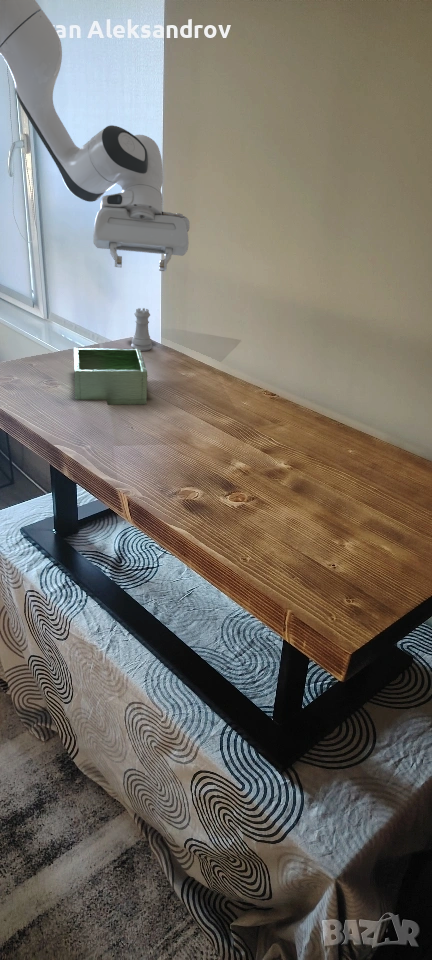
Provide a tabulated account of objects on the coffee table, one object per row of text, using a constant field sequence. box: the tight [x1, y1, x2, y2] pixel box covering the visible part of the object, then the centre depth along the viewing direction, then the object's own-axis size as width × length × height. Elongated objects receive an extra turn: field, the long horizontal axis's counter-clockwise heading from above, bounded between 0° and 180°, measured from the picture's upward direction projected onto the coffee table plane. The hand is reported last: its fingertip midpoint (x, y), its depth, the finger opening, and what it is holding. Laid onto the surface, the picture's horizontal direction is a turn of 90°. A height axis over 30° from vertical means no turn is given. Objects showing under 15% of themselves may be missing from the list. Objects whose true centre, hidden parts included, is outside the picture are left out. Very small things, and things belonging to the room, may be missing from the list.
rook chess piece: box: [130, 307, 153, 352], centre depth 128 cm, size 4×4×8 cm
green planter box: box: [73, 347, 148, 406], centre depth 107 cm, size 12×12×6 cm
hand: (140, 267), depth 133 cm, fingers open, 8 cm apart
